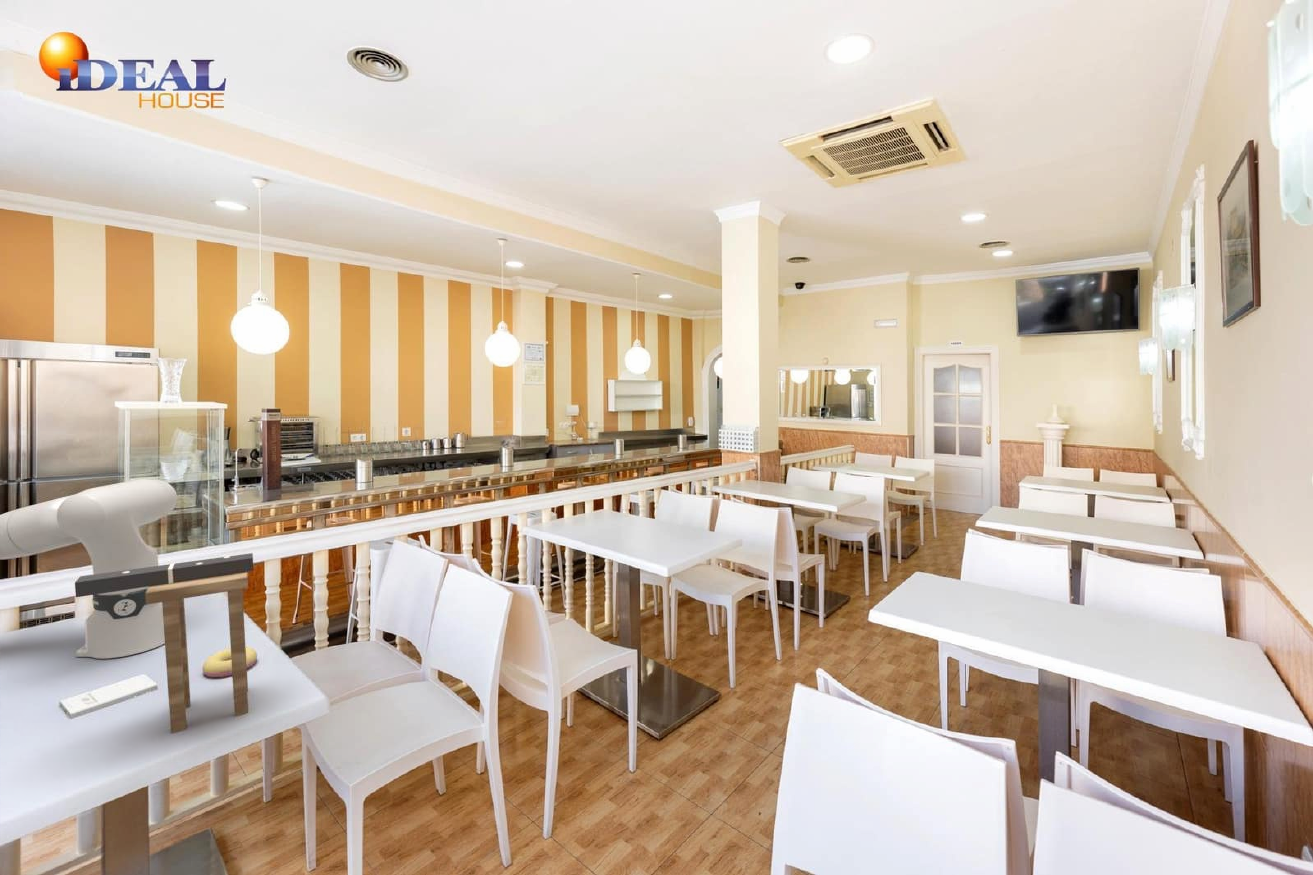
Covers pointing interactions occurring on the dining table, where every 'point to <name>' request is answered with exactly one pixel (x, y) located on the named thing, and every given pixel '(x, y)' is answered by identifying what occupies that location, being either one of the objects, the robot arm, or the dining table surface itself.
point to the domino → (162, 574)
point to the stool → (177, 640)
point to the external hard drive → (107, 695)
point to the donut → (225, 663)
